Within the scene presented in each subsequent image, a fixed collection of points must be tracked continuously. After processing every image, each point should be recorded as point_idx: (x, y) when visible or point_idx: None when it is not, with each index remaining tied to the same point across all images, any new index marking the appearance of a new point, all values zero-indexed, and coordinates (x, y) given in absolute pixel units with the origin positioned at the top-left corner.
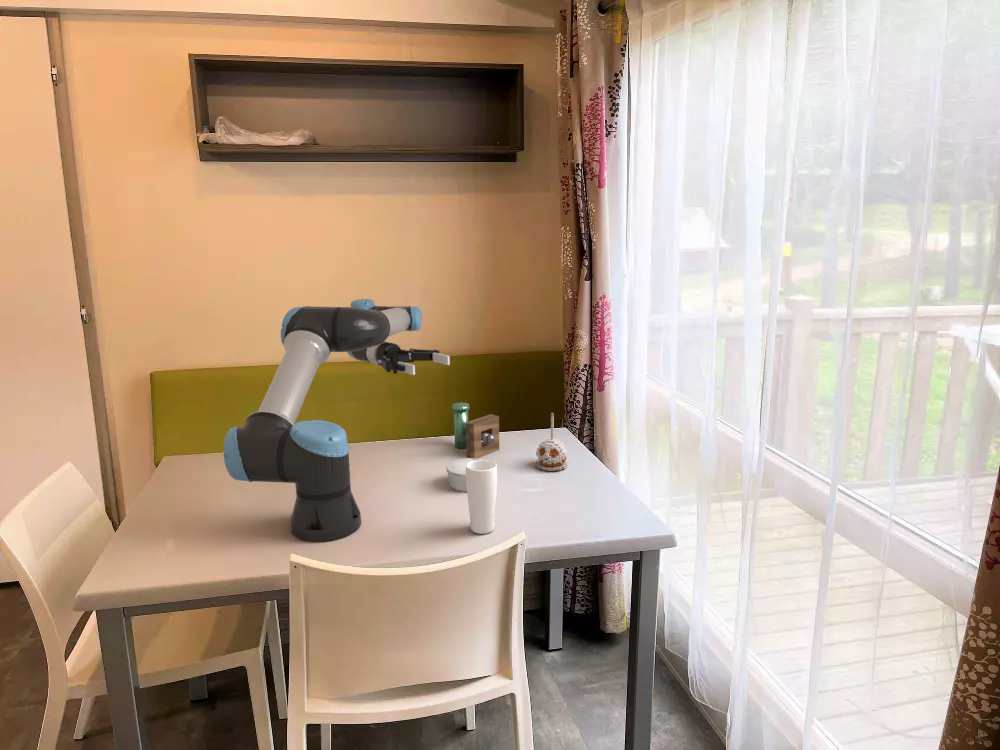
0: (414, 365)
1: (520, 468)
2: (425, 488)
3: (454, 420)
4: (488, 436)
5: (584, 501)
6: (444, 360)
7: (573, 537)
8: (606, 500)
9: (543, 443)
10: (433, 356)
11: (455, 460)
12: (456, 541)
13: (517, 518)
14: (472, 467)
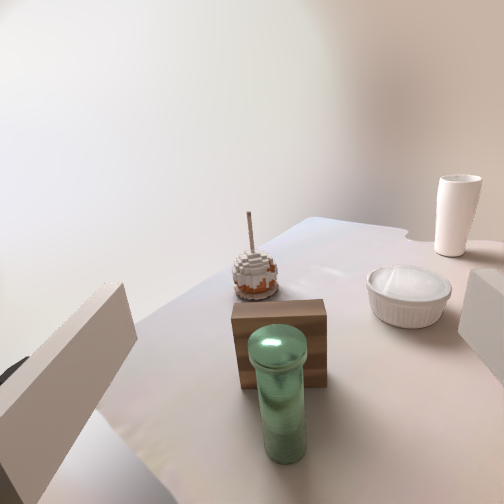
0: (473, 270)
1: None
2: None
3: (301, 389)
4: None
5: (312, 245)
6: (116, 336)
7: (374, 227)
8: (295, 240)
9: (262, 260)
10: (14, 453)
11: (418, 300)
12: (489, 250)
13: (398, 251)
14: (466, 189)
